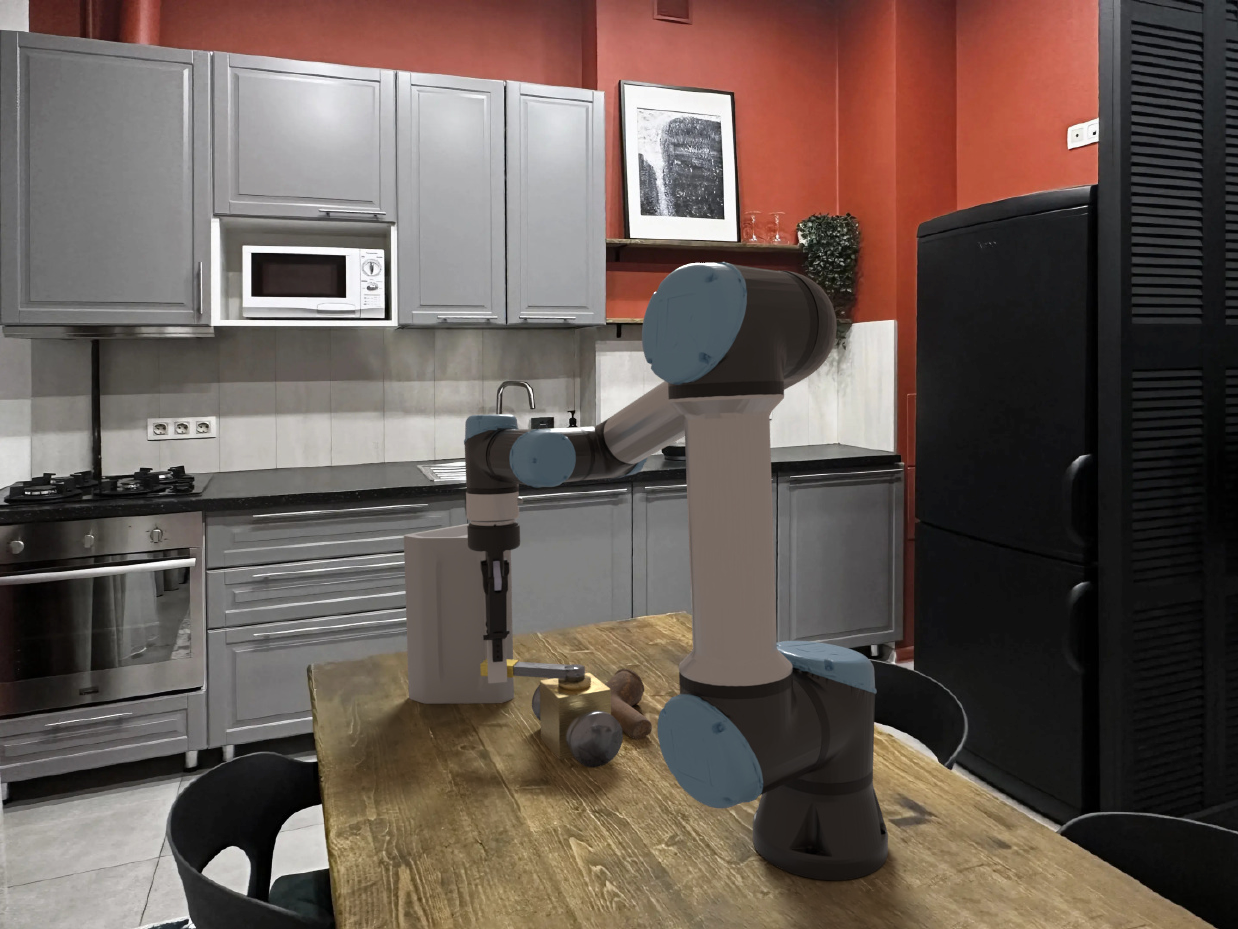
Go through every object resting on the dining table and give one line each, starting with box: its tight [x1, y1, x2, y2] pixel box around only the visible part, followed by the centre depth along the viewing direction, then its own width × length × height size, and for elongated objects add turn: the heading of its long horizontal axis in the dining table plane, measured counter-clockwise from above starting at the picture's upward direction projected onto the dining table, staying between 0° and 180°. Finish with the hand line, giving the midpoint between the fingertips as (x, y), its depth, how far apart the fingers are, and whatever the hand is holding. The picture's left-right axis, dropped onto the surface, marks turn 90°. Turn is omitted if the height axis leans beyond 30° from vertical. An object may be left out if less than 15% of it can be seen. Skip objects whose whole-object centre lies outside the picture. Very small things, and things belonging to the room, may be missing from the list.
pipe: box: [604, 668, 653, 740], centre depth 137 cm, size 6×17×10 cm
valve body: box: [531, 672, 624, 768], centre depth 127 cm, size 17×8×10 cm, turn 25°
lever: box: [480, 658, 586, 682], centre depth 128 cm, size 16×3×2 cm, turn 78°
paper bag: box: [403, 523, 515, 705], centre depth 149 cm, size 19×15×28 cm
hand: (497, 681), depth 127 cm, fingers closed
